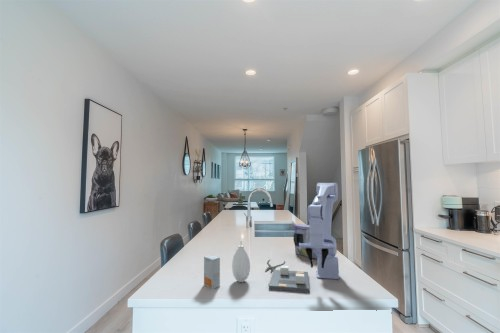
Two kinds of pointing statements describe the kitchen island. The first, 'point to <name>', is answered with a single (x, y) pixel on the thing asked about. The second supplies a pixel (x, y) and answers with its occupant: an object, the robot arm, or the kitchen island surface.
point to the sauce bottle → (241, 264)
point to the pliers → (272, 267)
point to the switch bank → (288, 281)
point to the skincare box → (212, 271)
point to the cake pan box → (302, 239)
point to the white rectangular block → (300, 278)
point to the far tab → (284, 270)
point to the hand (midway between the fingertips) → (317, 267)
